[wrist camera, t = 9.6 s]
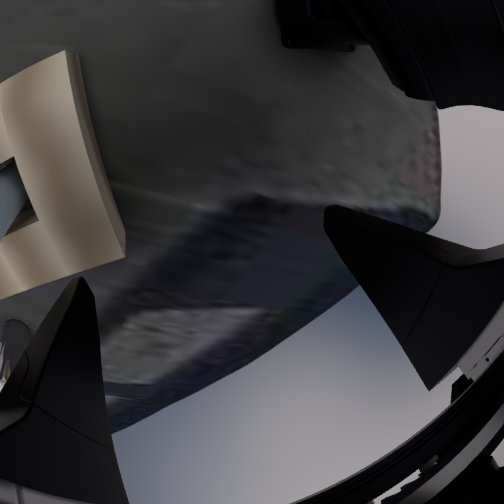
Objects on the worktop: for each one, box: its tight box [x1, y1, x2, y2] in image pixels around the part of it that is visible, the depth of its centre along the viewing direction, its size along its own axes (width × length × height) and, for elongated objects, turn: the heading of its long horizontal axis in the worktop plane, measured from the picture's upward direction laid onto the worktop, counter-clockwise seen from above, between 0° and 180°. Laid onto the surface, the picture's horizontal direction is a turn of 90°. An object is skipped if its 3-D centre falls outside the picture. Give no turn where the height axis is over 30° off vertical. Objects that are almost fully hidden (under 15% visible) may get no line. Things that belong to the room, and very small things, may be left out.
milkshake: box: [0, 320, 31, 391], centre depth 17 cm, size 4×5×10 cm
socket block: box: [0, 50, 126, 299], centre depth 13 cm, size 14×14×4 cm
